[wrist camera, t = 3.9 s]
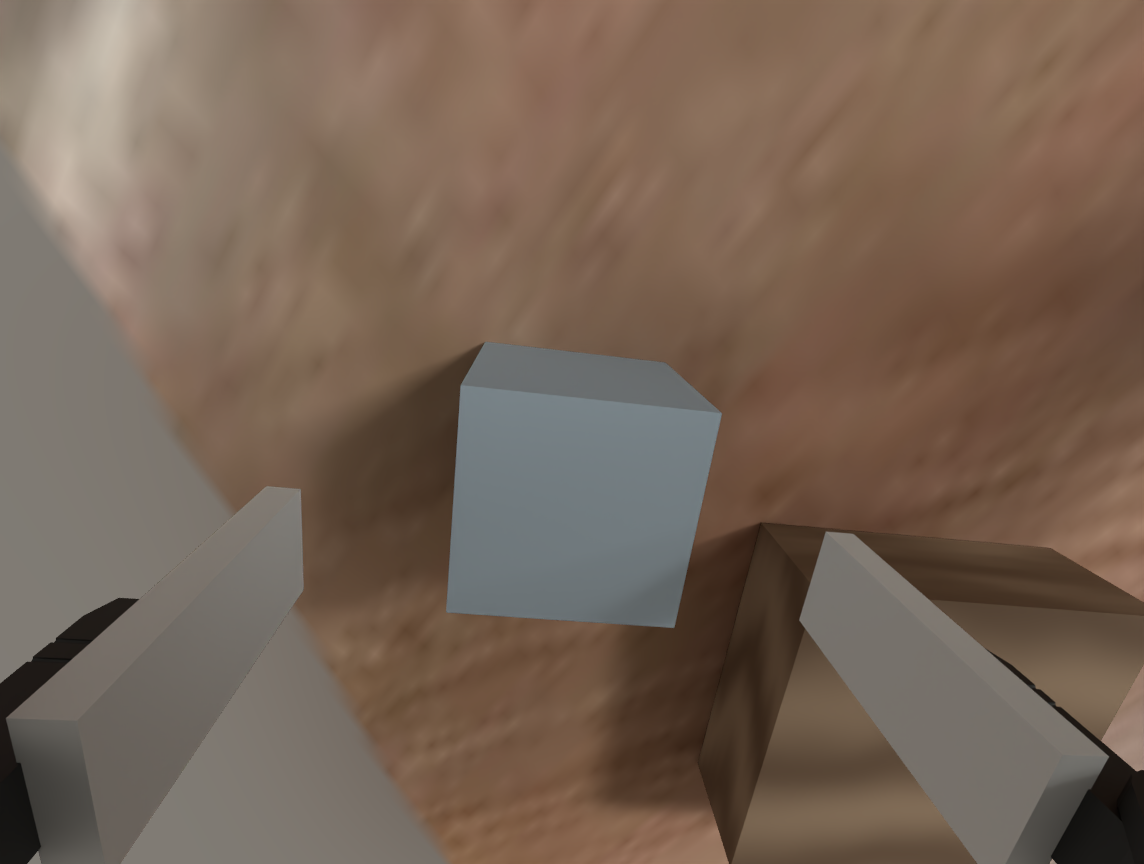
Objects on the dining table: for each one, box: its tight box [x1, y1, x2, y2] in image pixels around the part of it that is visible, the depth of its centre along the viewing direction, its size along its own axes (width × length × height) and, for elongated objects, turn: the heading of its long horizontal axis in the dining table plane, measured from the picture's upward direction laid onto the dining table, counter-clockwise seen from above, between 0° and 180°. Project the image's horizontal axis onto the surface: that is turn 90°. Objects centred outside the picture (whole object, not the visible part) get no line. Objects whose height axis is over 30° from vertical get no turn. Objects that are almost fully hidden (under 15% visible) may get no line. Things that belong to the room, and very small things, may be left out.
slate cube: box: [446, 342, 722, 628], centre depth 19 cm, size 7×7×7 cm
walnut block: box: [698, 523, 1144, 864], centre depth 24 cm, size 14×14×5 cm
